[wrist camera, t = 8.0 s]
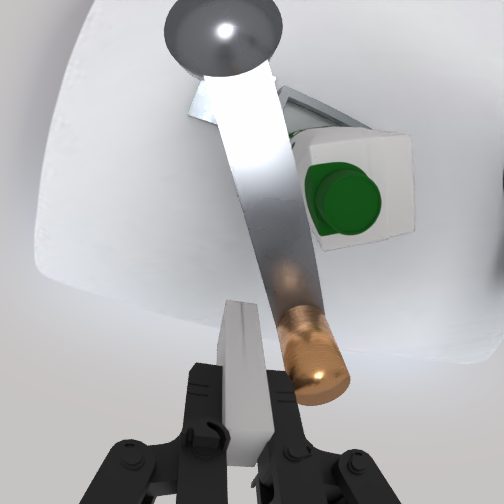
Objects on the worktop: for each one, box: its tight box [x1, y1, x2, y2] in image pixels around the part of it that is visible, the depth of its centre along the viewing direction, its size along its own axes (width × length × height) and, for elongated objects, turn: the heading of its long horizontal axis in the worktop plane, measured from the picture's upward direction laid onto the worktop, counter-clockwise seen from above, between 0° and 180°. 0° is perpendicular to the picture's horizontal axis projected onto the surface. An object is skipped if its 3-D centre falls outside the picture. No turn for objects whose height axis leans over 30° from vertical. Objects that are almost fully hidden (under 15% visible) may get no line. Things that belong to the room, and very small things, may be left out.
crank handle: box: [164, 0, 350, 406], centre depth 10 cm, size 17×4×6 cm, turn 15°
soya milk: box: [288, 126, 415, 251], centre depth 26 cm, size 9×9×20 cm
